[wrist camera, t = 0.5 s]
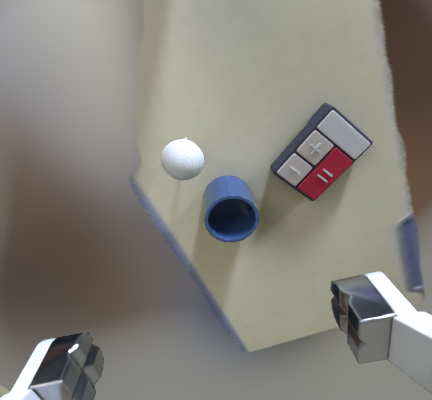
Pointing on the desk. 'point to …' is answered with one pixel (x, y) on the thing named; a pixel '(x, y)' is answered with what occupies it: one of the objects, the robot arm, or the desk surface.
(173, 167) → the lollipop
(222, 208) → the cup
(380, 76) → the desk surface
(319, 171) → the calculator
